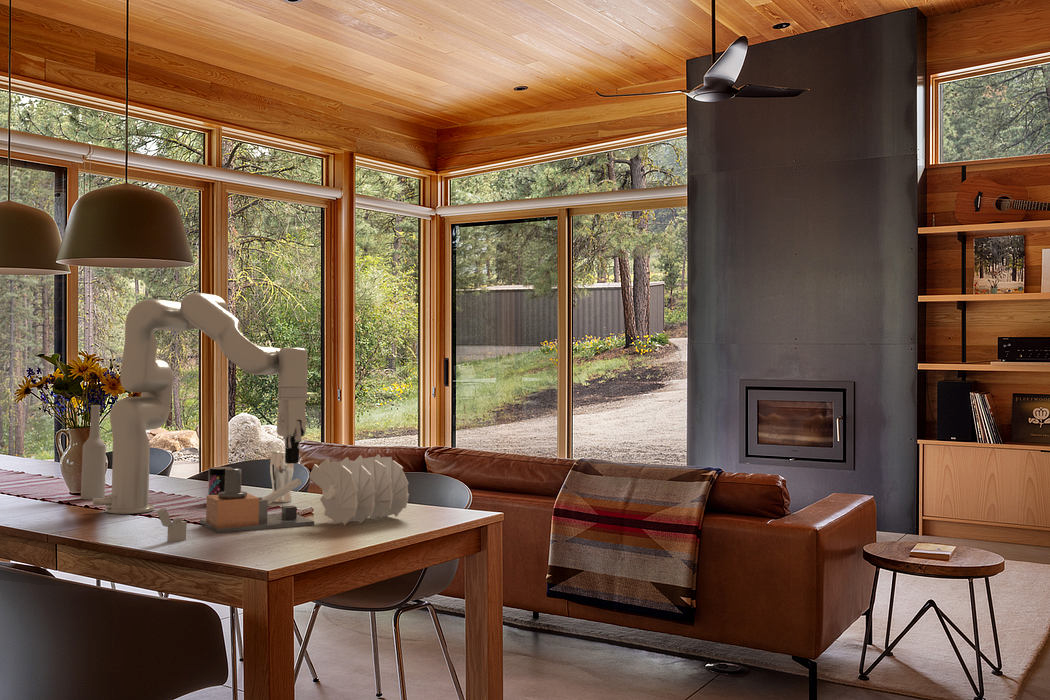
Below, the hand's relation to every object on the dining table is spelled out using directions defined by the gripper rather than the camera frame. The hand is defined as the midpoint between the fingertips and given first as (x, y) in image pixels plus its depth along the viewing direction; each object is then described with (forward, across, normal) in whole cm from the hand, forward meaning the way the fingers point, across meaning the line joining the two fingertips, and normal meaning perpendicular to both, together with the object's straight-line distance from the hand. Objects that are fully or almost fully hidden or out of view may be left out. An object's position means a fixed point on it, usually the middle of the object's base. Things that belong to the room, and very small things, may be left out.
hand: (292, 462), depth 246 cm
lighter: (+16, +14, -34) cm, 39 cm away
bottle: (+14, -66, -38) cm, 78 cm away
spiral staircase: (+16, +6, +18) cm, 25 cm away
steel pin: (+14, -1, -16) cm, 21 cm away
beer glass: (+15, -36, +10) cm, 41 cm away
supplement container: (+15, -42, -8) cm, 45 cm away
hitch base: (+15, 0, -10) cm, 18 cm away
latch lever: (+8, 0, -3) cm, 9 cm away
